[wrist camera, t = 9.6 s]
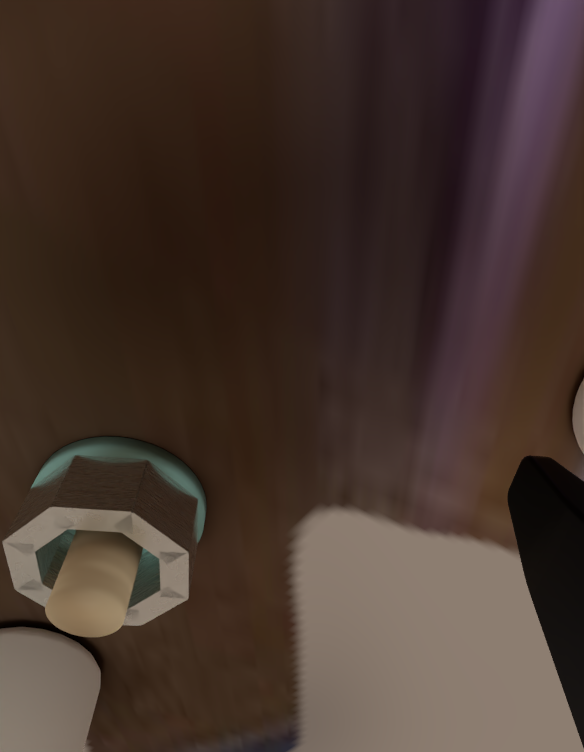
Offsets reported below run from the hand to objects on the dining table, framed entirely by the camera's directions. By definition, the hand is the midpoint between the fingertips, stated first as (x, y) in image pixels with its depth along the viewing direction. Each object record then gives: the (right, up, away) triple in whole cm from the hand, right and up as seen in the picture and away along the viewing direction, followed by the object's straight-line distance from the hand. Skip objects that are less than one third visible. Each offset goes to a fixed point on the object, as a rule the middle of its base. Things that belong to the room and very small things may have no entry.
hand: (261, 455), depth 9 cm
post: (-8, -5, +17) cm, 19 cm away
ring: (-8, -5, +16) cm, 19 cm away
